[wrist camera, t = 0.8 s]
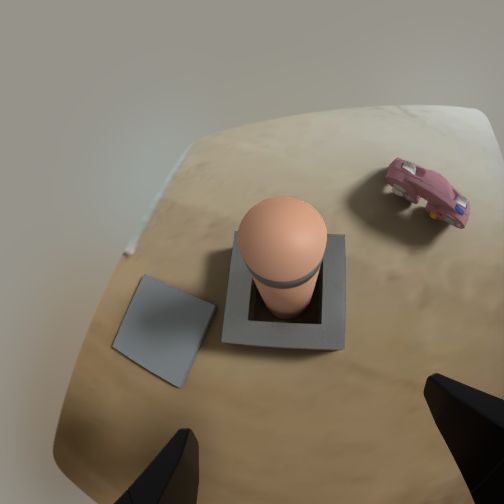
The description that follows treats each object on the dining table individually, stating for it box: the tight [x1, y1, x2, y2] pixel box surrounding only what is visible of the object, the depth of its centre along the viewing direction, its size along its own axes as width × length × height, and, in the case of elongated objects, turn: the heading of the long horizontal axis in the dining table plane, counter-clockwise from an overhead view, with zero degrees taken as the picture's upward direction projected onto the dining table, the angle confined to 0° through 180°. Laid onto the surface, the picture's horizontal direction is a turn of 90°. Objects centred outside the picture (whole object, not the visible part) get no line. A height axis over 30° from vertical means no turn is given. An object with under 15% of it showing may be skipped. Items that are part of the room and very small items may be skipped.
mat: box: [112, 274, 217, 388], centre depth 23 cm, size 8×8×1 cm
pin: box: [238, 197, 327, 319], centre depth 18 cm, size 4×4×12 cm
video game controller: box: [385, 158, 470, 229], centre depth 22 cm, size 10×5×7 cm, turn 53°
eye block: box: [221, 231, 346, 350], centre depth 22 cm, size 9×9×3 cm
